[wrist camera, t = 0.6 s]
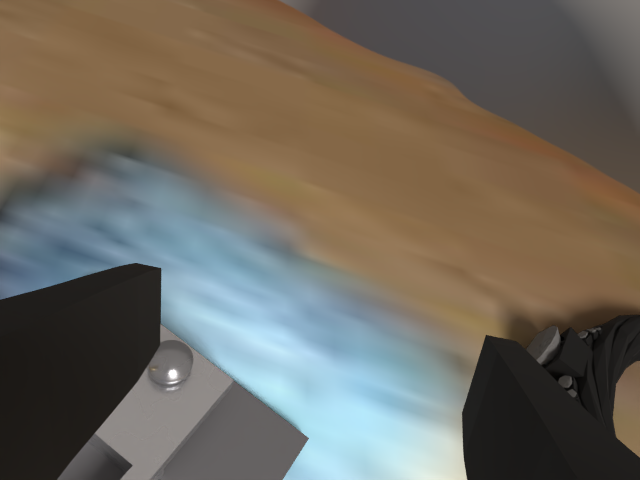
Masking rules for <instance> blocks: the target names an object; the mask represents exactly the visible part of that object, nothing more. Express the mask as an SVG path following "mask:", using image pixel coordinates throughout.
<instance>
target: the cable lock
mask: <svg viewBox="0 0 640 480" xmlns="http://www.w3.org/2000/svg"><path fill="white" fill-rule="evenodd" d="M526 351H528V352H529V353H530V354H531V355H532V356H533V357H534V358H535V359H536V360H537V361H538V362H539V363H540V365H541V366H542V367H543V368H544V369H545V370H546V371H547V372H548V373H549V374H550V375H551V376H552V377H553V378H554V379H555V380H556V381H557V382H558V383H559V384H560V385H561V386H562V387H563V388H564V389H565V390H566V391H567V392H568V393H569V394H570V395H571V396H572V397H573V398H574V399H575V400H576V401H577V402H578V403H579V404H580V405H581V406H582V407H583V408H584V409H586V410H587V411H588V412H589V413H590V414H591V415H592V416H593V417H594V418H595V419H596V420H597V421H598V422H599V423H600V424H602V425H603V426H604V427H605V428H606V429H607V430H608V431H609V432H611V433H612V434H613V435H614V436H615V437H616V434H615V429H614V423H613V409H614V398H615V388H616V383H617V382H618V380H619V378H620V377H621V375H622V374H623V372H624V370H625V369H626V368H627V367H628V366H630V365H631V364H633V363H634V362H636V361H640V315H623V316H618V317H616V318H614V319H612V320H611V321H609V322H607V323H605V324H602V325H599V326H595V327H593V328H591V329H587V330H585V331H582V332H580V333H578V334H577V333H576V332H575V331H574V330H573V329H572V328H571V327H570V328H569V329H567V330H566V331H565V332H563V333H562V334H561V335H559V331H558V327H556V326H554V325H553V326H551V327H549V328H547V329H545V330H543V331H542V332H540V333H538V334H537V335H536V336H535V338H534V339H533V340H532V342H531V343H530V345H529V346H528V347H527V349H526Z"/></svg>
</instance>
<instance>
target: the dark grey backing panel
mask: <svg viewBox="0 0 640 480" xmlns="http://www.w3.org/2000/svg"><path fill="white" fill-rule="evenodd" d="M308 439H309V438H308V437H307V436H305V435H304V434H303V433H301V432H300V431H299V430H297V429H296V428H295V427H294V426H292V425H291V424H290V423H288V422H287V421H286V420H284V419H283V418H282V417H281V416H279V415H278V414H277V413H275V412H274V411H273V410H271V409H270V408H269V407H267V406H266V405H265V404H264V403H262V402H261V401H260V400H258V399H257V398H256V397H254V396H253V395H252V394H251V393H249V392H248V391H247V390H245V389H244V388H243V387H241V386H240V385H239V384H237V383H236V382H235V381H233V384H232V387H231V389H230V390H229V392H228V393H227V394H226V395H225V396H224V398H223V399H222V400H221V401H220V402H219V403H218V405H217V406H216V407H215V408H214V409H213V411H212V412H211V413H210V414H209V415H208V417H207V418H206V419H205V420H204V421H203V423H202V424H201V425H200V426H199V427H198V429H197V430H196V431H195V432H194V433H193V435H192V436H191V437H190V438H189V439H188V441H187V442H186V443H185V444H184V445H183V446H182V448H181V449H180V450H179V451H178V452H177V454H176V455H175V456H174V457H173V458H172V460H171V461H170V462H169V463H168V464H167V466H166V467H165V469H164V475H163V476H162V477H161V478H160V480H283V478H284V476H285V475H286V473H287V472H288V470H289V469H290V467H291V465H292V464H293V462H294V461H295V459H296V458H297V456H298V454H299V453H300V451H301V450H302V448H303V447H304V445H305V444H306V442H307V440H308ZM125 474H126V473H125V472H124V471H122V470H121V469H120V468H119V467H118V466H116V465H115V464H114V463H113V462H112V461H111V460H109V459H108V458H107V457H106V456H105V455H103V454H102V453H101V452H100V451H99V450H98V449H96V448H95V447H94V446H93V445H92V444H90V443H89V442H87V443H86V444H85V445H84V447H83V448H82V449H81V450H80V451H79V453H78V454H77V455H76V456H75V457H74V459H73V460H72V461H71V462H70V464H69V465H68V466H67V467H66V469H65V470H64V471H63V473H62V474H61V475H60V477H59V478H58V479H57V480H120V479H121V478H122V477H123V476H124V475H125Z"/></svg>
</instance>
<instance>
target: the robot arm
mask: <svg viewBox="0 0 640 480" xmlns="http://www.w3.org/2000/svg"><path fill="white" fill-rule="evenodd" d="M160 322H161V268H157V267H153V266H148V265H143V264H138V263H134V264H128V265H123V266H119V267H115V268H111V269H108V270H104V271H101V272H97V273H94V274H90V275H87V276H84V277H80V278H77V279H74V280H70V281H67V282H63V283H60V284H57V285H53V286H50V287H47V288H43V289H39V290H35V291H32V292H28V293H24V294H20V295H17V296H13V297H9V298H5V299H2V300H0V480H57V479H58V478H59V477H60V475H61V474H62V473H63V471H64V470H65V469H66V467H67V466H68V465H69V464H70V462H71V461H72V460H73V459H74V457H75V456H76V455H77V454H78V453H79V451H80V450H81V449H82V448H83V447H84V445H85V444H86V443H87V442H88V441H89V440H90V438H91V437H92V436H93V435H94V434H95V432H96V431H97V430H98V429H99V428H100V426H101V425H102V424H103V423H104V422H105V420H106V419H107V418H108V417H109V416H110V415H111V413H112V412H113V411H114V410H115V409H116V407H117V406H118V405H119V404H120V403H121V401H122V400H123V399H124V398H125V396H126V395H127V394H128V393H129V392H130V390H131V389H132V388H133V387H134V385H135V384H136V383H137V382H138V380H139V379H140V377H141V376H142V374H143V372H144V371H145V369H146V368H147V366H148V365H149V363H150V361H151V360H152V358H153V356H154V355H155V353H156V351H157V350H158V348H159V346H160ZM462 424H463V452H464V462H465V469H466V475H467V480H640V458H639V457H638V456H637V455H636V454H635V453H633V452H632V451H631V450H630V449H629V448H627V447H626V446H625V445H624V444H623V443H622V442H621V441H620V440H618V439H617V438H616V437H615V436H614V435H613V434H612V433H611V432H609V431H608V430H607V429H606V428H605V427H604V426H603V425H602V424H600V423H599V422H598V421H597V420H596V419H595V418H594V417H593V416H592V415H591V414H590V413H589V412H588V411H587V410H586V409H584V408H583V407H582V406H581V405H580V404H579V403H578V402H577V401H576V400H575V399H574V398H573V397H572V396H571V395H570V394H569V393H568V392H567V391H566V390H565V389H564V388H563V387H562V386H561V385H560V384H559V383H558V382H557V381H556V380H555V379H554V378H553V377H552V376H551V375H550V374H549V373H548V372H547V371H546V370H545V369H544V368H543V367H542V366H541V365H540V363H539V362H538V361H537V360H536V359H535V358H534V357H533V356H532V355H531V354H530V353H529V352H528V351H526V350H525V349H524V348H523V347H522V346H521V345H520V344H519V343H518V342H516V341H512V340H508V339H503V338H498V337H493V336H488V335H486V337H485V340H484V343H483V347H482V350H481V353H480V356H479V360H478V363H477V366H476V370H475V373H474V376H473V379H472V383H471V386H470V389H469V392H468V396H467V399H466V402H465V405H464V409H463V412H462Z"/></svg>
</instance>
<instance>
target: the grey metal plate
mask: <svg viewBox="0 0 640 480" xmlns="http://www.w3.org/2000/svg"><path fill="white" fill-rule="evenodd" d="M233 381H234V380H233V379H232V378H231V377H229V376H228V375H227V374H225V373H224V372H223V371H222V370H220V369H219V368H218V367H216V366H215V365H214V364H212V363H211V362H210V361H208V360H207V359H206V358H205V357H203V356H202V355H201V354H199V353H198V352H197V351H195V350H194V349H193V348H192V347H190V346H189V345H188V344H186V343H185V342H184V341H182V340H181V339H180V338H178V337H177V336H176V335H175V334H173V333H172V332H171V331H169V330H168V329H167V328H165V327H164V326H163V325H162V324H160V346H159V348H158V350H157V351H156V353H155V355H154V356H153V358H152V360H151V361H150V363H149V365H148V366H147V368H146V369H145V371H144V372H143V374H142V376H141V377H140V379H139V380H138V382H137V383H136V384H135V385H134V387H133V388H132V389H131V390H130V392H129V393H128V394H127V395H126V396H125V398H124V399H123V400H122V401H121V403H120V404H119V405H118V406H117V407H116V409H115V410H114V411H113V412H112V413H111V415H110V416H109V417H108V418H107V419H106V420H105V422H104V423H103V424H102V425H101V426H100V428H99V429H98V430H97V431H96V432H95V434H94V435H93V436H92V437H91V438H90V440H89V441H88V442H89V443H90V444H92V445H93V446H94V447H95V448H96V449H98V450H99V451H100V452H101V453H102V454H103V455H105V456H106V457H107V458H108V459H109V460H111V461H112V462H113V463H114V464H115V465H116V466H118V467H119V468H120V469H121V470H122V471H124V472H125V473H126V474H125V475H124V476H123V477H122V478H121V479H120V480H160V478H161V477H162V476H163V475H164V469H165V467H166V466H167V464H168V463H169V462H170V461H171V460H172V458H173V457H174V456H175V455H176V454H177V452H178V451H179V450H180V449H181V448H182V446H183V445H184V444H185V443H186V442H187V441H188V439H189V438H190V437H191V436H192V435H193V433H194V432H195V431H196V430H197V429H198V427H199V426H200V425H201V424H202V423H203V421H204V420H205V419H206V418H207V417H208V415H209V414H210V413H211V412H212V411H213V409H214V408H215V407H216V406H217V405H218V403H219V402H220V401H221V400H222V399H223V398H224V396H225V395H226V394H227V393H228V392H229V390H230V389H231V387H232V384H233Z"/></svg>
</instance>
